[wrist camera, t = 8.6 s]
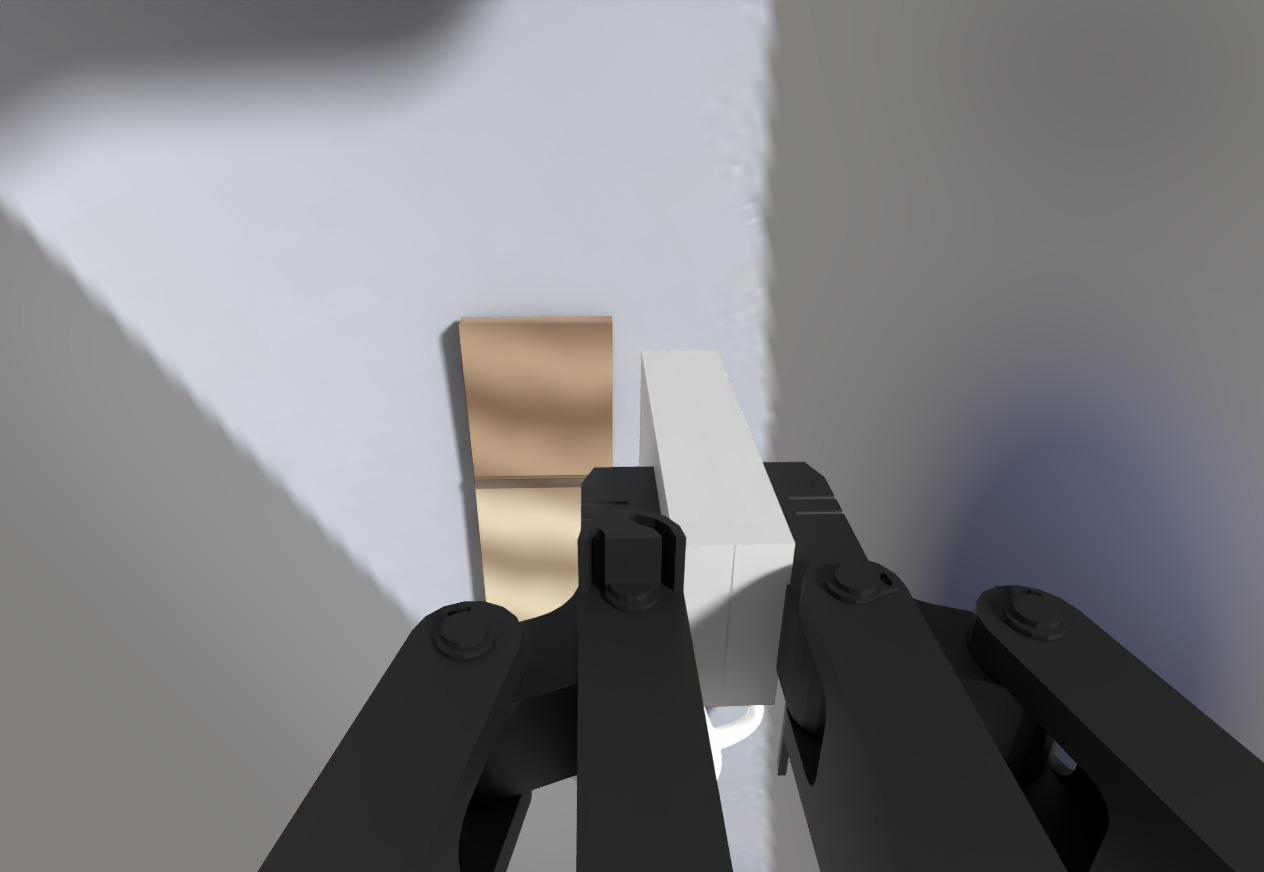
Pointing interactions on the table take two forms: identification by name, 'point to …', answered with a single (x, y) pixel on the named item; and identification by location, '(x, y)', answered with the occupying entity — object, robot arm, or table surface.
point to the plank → (538, 394)
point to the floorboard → (529, 540)
